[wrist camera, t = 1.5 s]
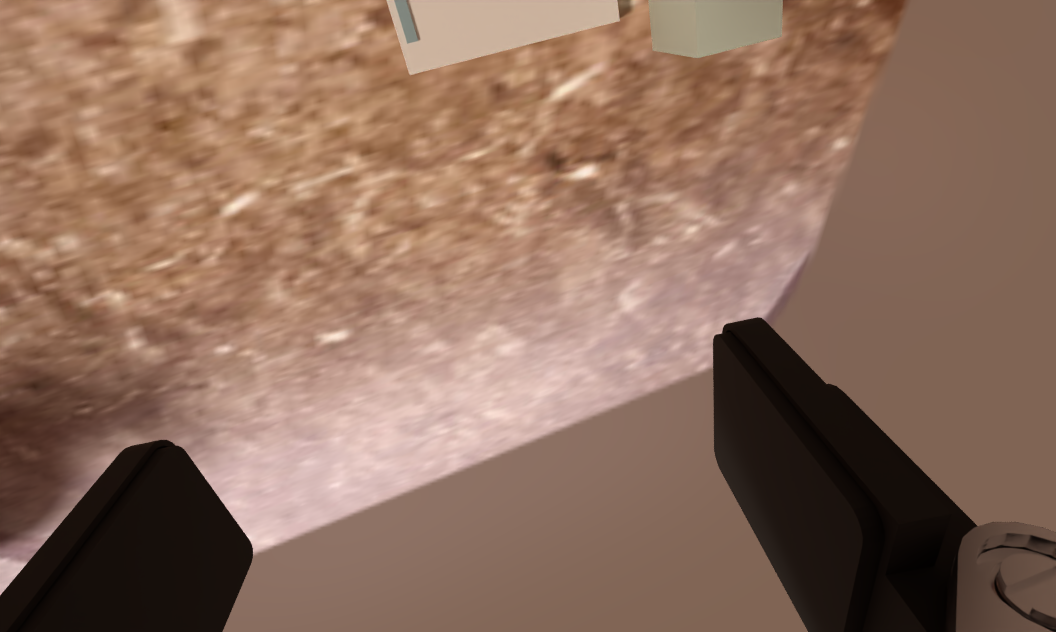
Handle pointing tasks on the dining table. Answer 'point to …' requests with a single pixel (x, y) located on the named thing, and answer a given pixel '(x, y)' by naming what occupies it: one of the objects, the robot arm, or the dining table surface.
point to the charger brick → (712, 25)
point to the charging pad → (487, 26)
